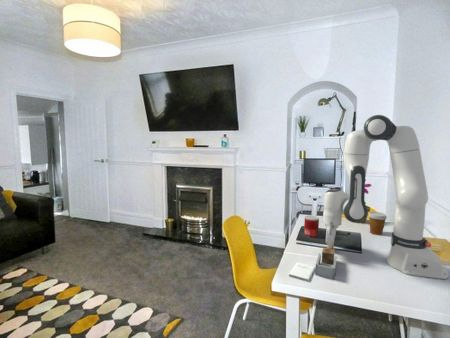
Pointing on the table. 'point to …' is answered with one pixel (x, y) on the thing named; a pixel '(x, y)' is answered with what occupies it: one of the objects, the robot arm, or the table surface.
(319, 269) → the lane
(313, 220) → the canned food
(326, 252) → the towed block
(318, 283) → the table surface
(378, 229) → the disposable coffee cup
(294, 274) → the external hard drive
